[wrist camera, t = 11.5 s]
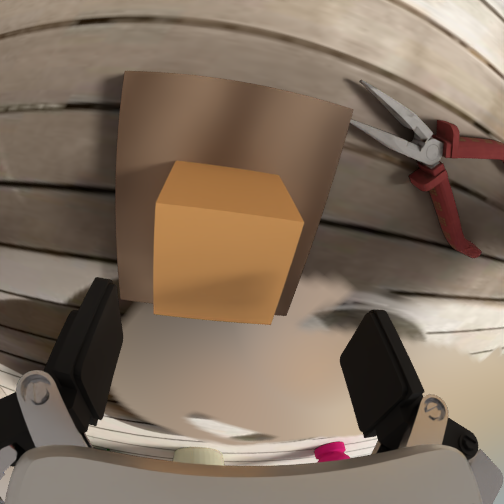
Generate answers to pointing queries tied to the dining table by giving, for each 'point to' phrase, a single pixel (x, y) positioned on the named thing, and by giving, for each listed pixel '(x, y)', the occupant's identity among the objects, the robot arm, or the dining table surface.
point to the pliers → (434, 161)
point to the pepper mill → (331, 452)
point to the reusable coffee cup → (199, 456)
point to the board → (217, 156)
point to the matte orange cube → (222, 243)
